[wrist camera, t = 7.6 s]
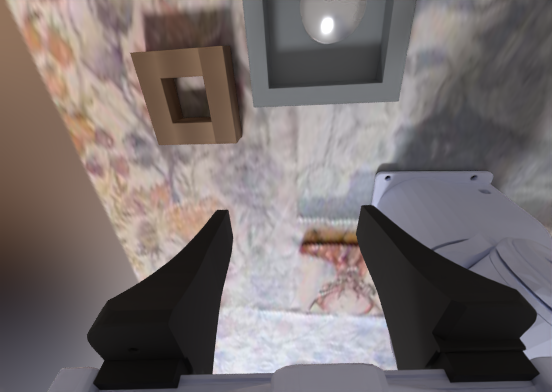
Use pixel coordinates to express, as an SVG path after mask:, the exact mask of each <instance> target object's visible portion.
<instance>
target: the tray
mask: <svg viewBox="0 0 552 392" xmlns="http://www.w3.org/2000/svg"><path fill="white" fill-rule="evenodd" d="M300 1H301V0H243V10H244V19H245V29H246V38H247V48H248V58H249V67H250V77H251V86H252V96H253V106H254V107H276V106H300V105H323V104H347V103H371V102H395V101H399V96H400V90H401V84H402V79H403V73H404V67H405V62H406V56H407V50H408V44H409V39H410V33H411V27H412V22H413V16H414V10H415V4H416V0H367V1H366V8H365V12H364V15H363V17H362V19H361V21H360V23H359V25H358V26H357V28H356V29H355V30H354V31H353V32H352V33H351V34H350V35H349V36H348V37H346V38H345V39H343V40H341V41H338V42H335V43H330V44H326V45H321V44H317V43H315V42H314V41H312V40H311V39H310V38H309V36H308V34H307V32H306V30H305V27H304V25H303V22H302V19H301V14H300Z"/></svg>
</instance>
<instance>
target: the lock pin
mask: <svg viewBox="0 0 552 392" xmlns="http://www.w3.org/2000/svg"><path fill="white" fill-rule="evenodd" d="M366 1H367V0H301V1H300V14H301V19H302V22H303V25H304V27H305V30H306V32H307V34H308V36H309V38H310V39H311V40H312V41H314V42H315V43H317V44H321V45H326V44H330V43H335V42H338V41H341V40H343V39H345V38H346V37H348V36H349V35H350V34H351V33H352V32H353V31H354V30H355V29H356V28H357V26H358V25H359V23H360V21H361V19H362V17H363V15H364V12H365V8H366Z"/></svg>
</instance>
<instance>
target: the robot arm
mask: <svg viewBox="0 0 552 392" xmlns="http://www.w3.org/2000/svg"><path fill="white" fill-rule="evenodd" d="M474 175H475V177H474V178H472V179H471V177H472V176H474ZM386 176H390V177H389V178H388V179H385V177H386ZM492 180H493V174H492V173H491V172H489V171H400V172H379V173H377V174H376V176H375V183H374V189H373V196H372V202H371V205H362V206H361V211H360V216H359V221H358V226H357V231H356V236H357V240H358V244H359V247H360V251H361V253H362V256H363V258H364V261H365V263H366V265H367V268H368V270H369V272H370V275H371V277H372V280H373V282H374V284H375V287H376V290H377V292H378V295H379V299H380V302H381V305H382V309H383V312H384V316H385V319H386V323H387V327H388V330H389V334H390V344H391V349H392V353H393V356H394V359H395V362H396V364H397V368H398V370H386V371H383V370H382V369H380V368H379V367H377V366H375V365H373V364H365V363H338V364H298V365H290V366H285V367H283V368H281V369H278V370H276V372H275V373H253V374H212V373H213V362H214V352H215V342H216V333H217V325H218V317H219V309H220V302H221V296H222V291H223V287H224V283H225V279H226V274H227V270H228V266H229V262H230V258H231V253H232V245H233V233H232V228H231V222H230V216H229V211H228V210H217V211H216V212H215V213H214V214H213V215H212V217H211V218H210V219H209V220H208V222H207V223H206V224H205V225H204V227H203V228H202V229H201V230H200V231H199V232H198V234H197V235H196V236H195V237H194V238H193V239H192V240H191V241H190V242H189V243H188V244H187V245H186V246H185V247H184V248H183V249H182V250H181V251H180V252H179V253H178V254H177V255H176V256H175V257H174V258H172V259H171V260H170V261H169V262H168V263H166V264H165V265H164V266H162V267H161V268H160V269H158V270H157V271H156V272H154V273H153V274H152V275H150V276H149V277H147V278H146V279H144V280H143V281H141V282H139V283H138V284H136V285H135V286H133V287H131V288H130V289H128V290H126V291H124V292H123V293H121V294H119V295H117V296H116V297H114V298H112V299H110V300H108V301H107V303H106V304H105V306H104V307H103V309H102V310H101V312H100V313H99V315H98V317H97V318H96V320H95V322H94V324H93V325H92V327H91V329H90V330H89V332H88V334H87V339H88V342H89V343H90V345H91V346H92V347H93V348H94V349H95V351H96V352H97V353H98V354H99V355H100V356H101V357H102V358H103V359H104V362H103V364H102V366H101V368H100V370H99V369H97V368H92V367H76V368H63V369H61V370H60V372H59V373H58V375H57V376H56V378H55V380H54V381H53V383H52V385H51V386H50V388H49V389H48V391H47V392H552V237H551V236H550V234H549V232H548V231H547V229H546V228H545V227H544V226H543V225H542V224H541V223H540V222H539V221H538V220H537V219H535V218H534V217H533V216H531V215H530V214H529V213H527V212H526V211H525V210H523V209H522V208H521V207H520V206H518V205H517V204H516V203H514V202H513V201H512V200H510V199H509V198H508V197H507V196H505V195H504V194H503V193H501V192H500V191H499V190H497V189H496V188H495V187H493V186H492V185H491V182H492Z"/></svg>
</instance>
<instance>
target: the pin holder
mask: <svg viewBox="0 0 552 392" xmlns="http://www.w3.org/2000/svg"><path fill="white" fill-rule="evenodd" d="M130 54H131V57H132V60H133V63H134V66H135V70H136V73H137V76H138V79H139V83H140V86H141V89H142V92H143V95H144V99H145V102H146V105H147V108H148V112H149V115H150V118H151V121H152V124H153V128H154V131H155V134H156V137H157V141H158V144H159V145H182V144H227V143H237V142H238V141H239V139H240V138H241V137H242V131H241V123H240V116H239V108H238V101H237V94H236V86H235V79H234V71H233V64H232V56H231V49H230V46H213V47H200V48H187V49H174V50H161V51H148V52H136V53H130ZM193 76H203V79H204V84H205V89H206V95H207V100H208V105H209V110H210V116H211V117H191V118H183V115H182V111H181V107H180V103H179V99H178V95H177V91H176V87H175V83H174V79H173V78H177V77H193Z"/></svg>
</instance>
